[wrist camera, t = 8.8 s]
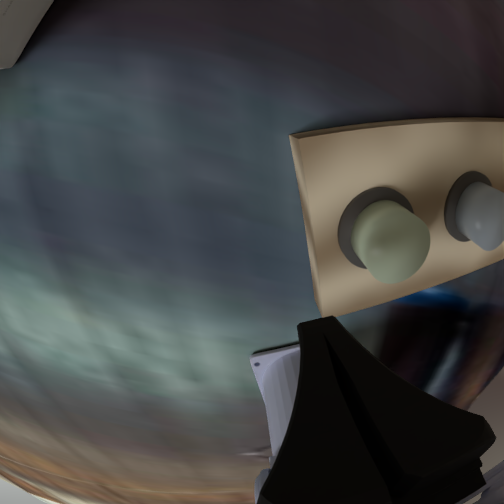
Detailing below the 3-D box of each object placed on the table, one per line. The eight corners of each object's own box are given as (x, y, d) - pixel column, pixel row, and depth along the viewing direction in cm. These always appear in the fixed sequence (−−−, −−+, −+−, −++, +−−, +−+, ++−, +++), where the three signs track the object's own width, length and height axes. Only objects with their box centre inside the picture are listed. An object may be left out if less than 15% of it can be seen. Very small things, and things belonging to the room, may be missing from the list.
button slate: (488, 229, 17) (508, 243, 15) (453, 240, 17) (473, 257, 15) (493, 178, 15) (516, 189, 13) (456, 185, 15) (480, 197, 13)
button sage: (408, 254, 17) (427, 273, 15) (352, 269, 17) (367, 291, 15) (409, 194, 15) (432, 208, 13) (348, 207, 15) (366, 224, 13)
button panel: (520, 234, 21) (537, 246, 19) (314, 299, 22) (324, 323, 19) (528, 119, 16) (549, 125, 13) (288, 134, 16) (299, 139, 14)
